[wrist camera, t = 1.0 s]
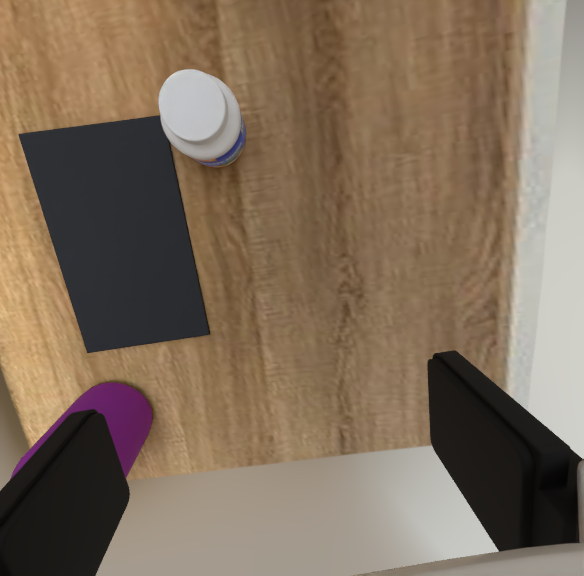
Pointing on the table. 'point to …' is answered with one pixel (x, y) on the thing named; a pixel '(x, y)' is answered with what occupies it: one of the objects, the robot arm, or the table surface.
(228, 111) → the pill bottle
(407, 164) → the table surface
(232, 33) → the table surface
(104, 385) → the beverage can
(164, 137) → the desk mat
